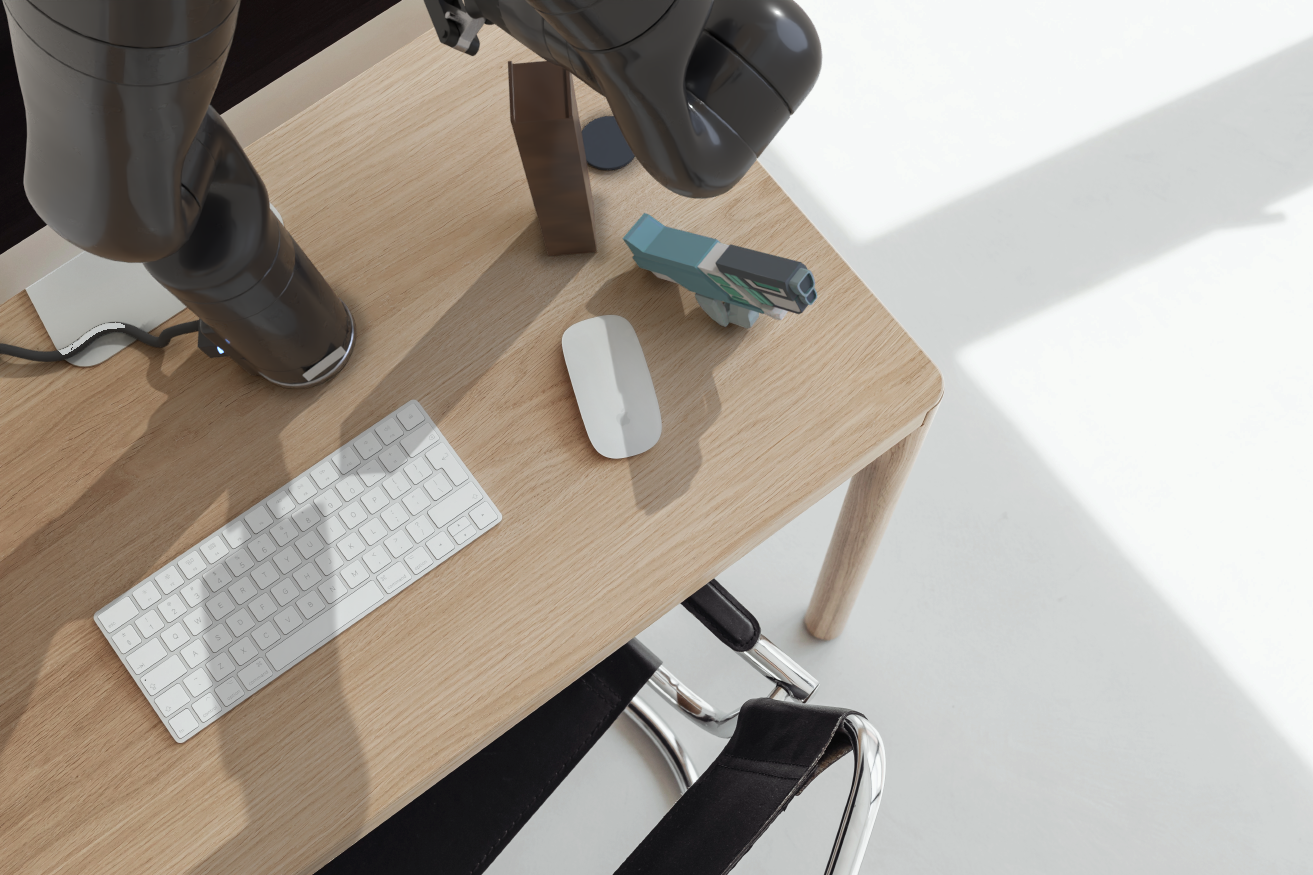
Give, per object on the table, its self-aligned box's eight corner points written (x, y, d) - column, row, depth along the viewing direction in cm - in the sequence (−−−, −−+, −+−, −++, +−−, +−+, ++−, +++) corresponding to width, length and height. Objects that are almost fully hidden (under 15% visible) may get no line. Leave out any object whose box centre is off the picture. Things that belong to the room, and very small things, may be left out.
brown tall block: (548, 256, 90) (510, 121, 70) (545, 207, 91) (507, 61, 72) (597, 252, 90) (572, 115, 70) (593, 203, 91) (568, 55, 72)
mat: (580, 173, 92) (580, 170, 92) (577, 121, 94) (576, 118, 93) (641, 168, 92) (641, 165, 92) (636, 116, 94) (636, 113, 93)
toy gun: (831, 371, 79) (783, 286, 72) (671, 316, 92) (618, 240, 85) (857, 337, 80) (812, 250, 73) (695, 287, 93) (644, 209, 86)
